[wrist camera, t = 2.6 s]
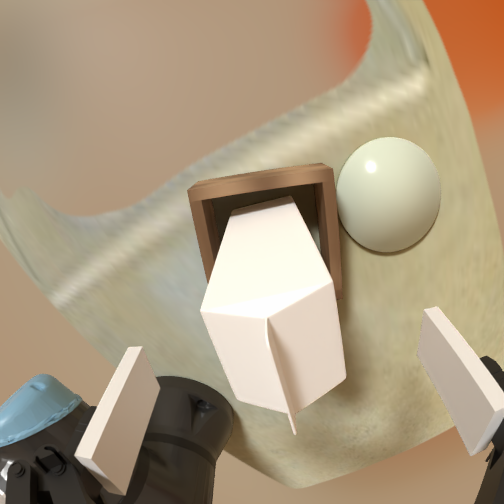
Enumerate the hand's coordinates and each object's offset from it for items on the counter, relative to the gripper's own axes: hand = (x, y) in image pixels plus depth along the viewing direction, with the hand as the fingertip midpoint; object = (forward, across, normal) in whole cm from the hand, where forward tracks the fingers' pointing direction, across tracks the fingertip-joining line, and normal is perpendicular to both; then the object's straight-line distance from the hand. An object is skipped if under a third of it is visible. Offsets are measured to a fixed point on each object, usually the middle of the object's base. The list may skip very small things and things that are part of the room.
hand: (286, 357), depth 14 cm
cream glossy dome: (+20, +13, +2) cm, 23 cm away
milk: (+20, 0, 0) cm, 20 cm away
